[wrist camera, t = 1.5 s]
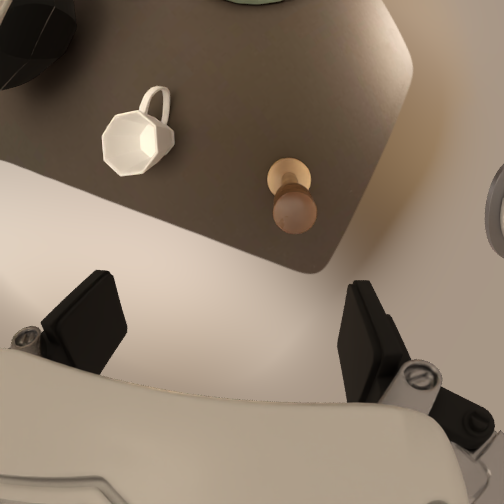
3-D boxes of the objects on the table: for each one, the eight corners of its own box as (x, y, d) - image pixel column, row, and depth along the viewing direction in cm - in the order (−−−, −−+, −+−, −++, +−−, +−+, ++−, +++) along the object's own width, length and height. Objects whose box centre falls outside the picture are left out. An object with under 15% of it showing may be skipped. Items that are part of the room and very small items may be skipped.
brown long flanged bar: (306, 154, 32) (327, 172, 18) (312, 195, 34) (334, 243, 20) (264, 160, 32) (252, 182, 19) (271, 201, 34) (264, 251, 20)
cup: (129, 158, 34) (94, 167, 26) (151, 85, 29) (118, 76, 22) (176, 173, 34) (148, 186, 27) (201, 97, 30) (178, 88, 23)
